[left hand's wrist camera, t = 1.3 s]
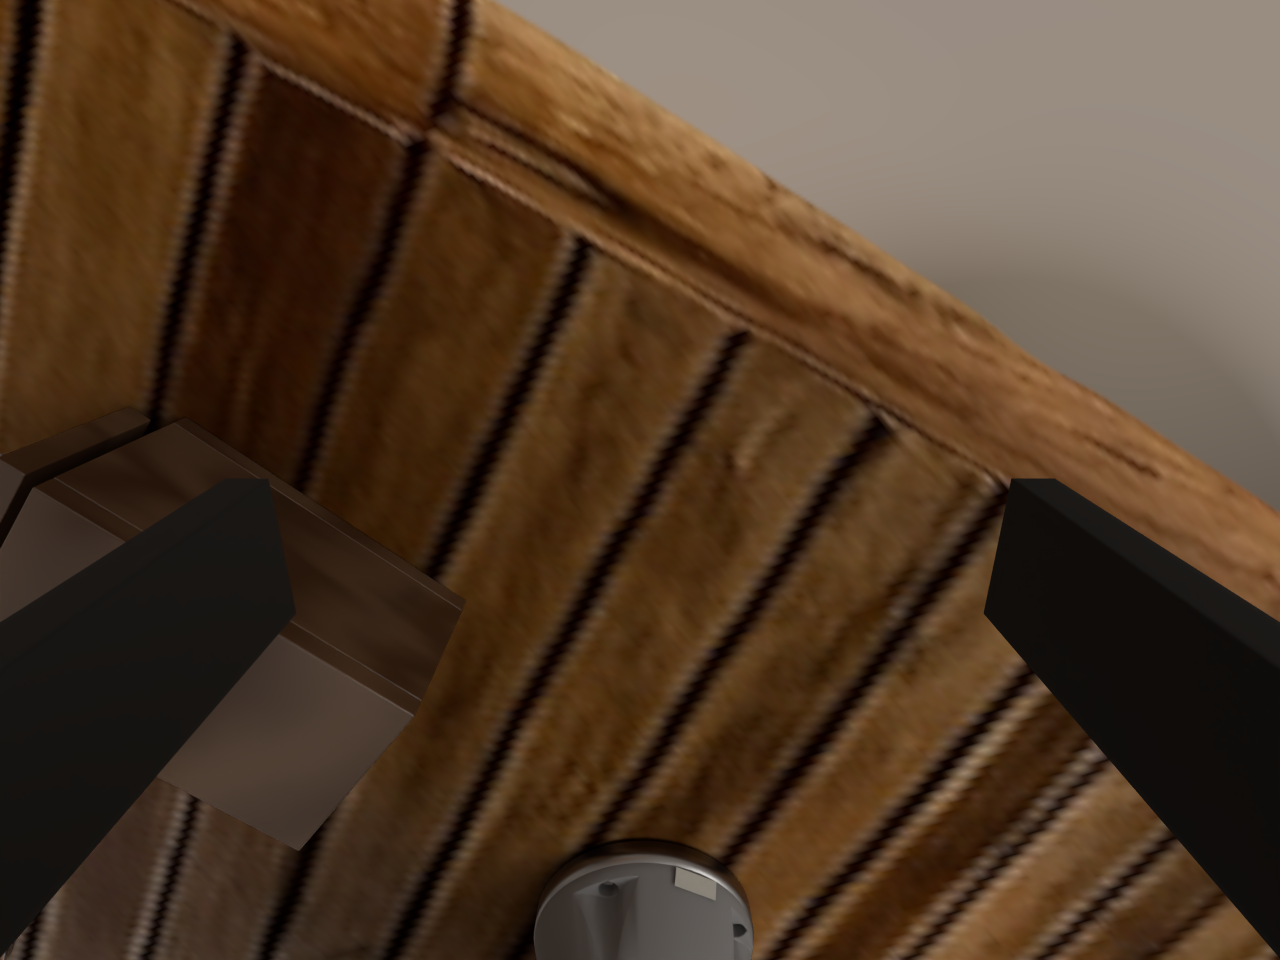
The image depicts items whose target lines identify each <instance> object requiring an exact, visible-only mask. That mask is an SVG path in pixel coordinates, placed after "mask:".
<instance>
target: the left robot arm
mask: <svg viewBox="0 0 1280 960" xmlns="http://www.w3.org/2000/svg"><path fill="white" fill-rule="evenodd" d="M295 614H296V610H295V605H294V600H293V595H292V590H291V585H290V580H289V576H288V571H287V566H286V561H285V556H284V551H283V546H282V542H281V537H280V532H279V527H278V522H277V517H276V512H275V508H274V503H273V498H272V493H271V488H270V483H269V479H224V480H222V481H221V482H219V483H218V484H216V485H214V486H213V487H211V488H210V489H208V490H207V491H205V492H203V493H202V494H200V495H199V496H197V497H196V498H194V499H192V500H191V501H189V502H188V503H186V504H185V505H183V506H182V507H180V508H178V509H177V510H175V511H174V512H172V513H171V514H169V515H167V516H166V517H164V518H163V519H161V520H160V521H158V522H156V523H155V524H153V525H152V526H150V527H149V528H147V529H146V530H144V531H142V532H141V533H139V534H138V535H136V536H135V537H133V538H131V539H130V540H128V541H127V542H125V543H124V544H122V545H120V546H119V547H117V548H116V549H114V550H113V551H111V552H110V553H108V554H106V555H105V556H103V557H102V558H100V559H99V560H97V561H95V562H94V563H92V564H91V565H89V566H88V567H86V568H85V569H83V570H81V571H80V572H78V573H77V574H75V575H74V576H72V577H70V578H69V579H67V580H66V581H64V582H63V583H61V584H59V585H58V586H56V587H55V588H53V589H52V590H50V591H49V592H47V593H45V594H44V595H42V596H41V597H39V598H38V599H36V600H34V601H33V602H31V603H30V604H28V605H27V606H25V607H23V608H22V609H20V610H19V611H17V612H16V613H14V614H13V615H11V616H9V617H8V618H6V619H5V620H3V621H2V622H0V958H1V957H2V955H3V954H4V953H5V952H6V951H7V950H8V948H9V947H10V946H11V945H12V944H13V943H14V941H15V940H16V939H17V938H18V937H19V936H20V934H21V933H22V932H23V931H24V930H25V929H26V927H27V926H28V925H29V924H30V923H31V922H32V920H33V919H34V918H35V917H36V916H37V915H38V913H39V912H40V911H41V910H42V909H43V908H44V907H45V905H46V904H47V903H48V902H49V901H50V900H51V898H52V897H53V896H54V895H55V894H56V893H57V891H58V890H59V889H60V888H61V887H62V886H63V884H64V883H65V882H66V881H67V880H68V879H69V877H70V876H71V875H72V874H73V873H74V872H75V870H76V869H77V868H78V867H79V866H80V865H81V863H82V862H83V861H84V860H85V859H86V858H87V856H88V855H89V854H90V853H91V852H92V851H93V849H94V848H95V847H96V846H97V845H98V844H99V843H100V841H101V840H102V839H103V838H104V837H105V836H106V834H107V833H108V832H109V831H110V830H111V829H112V827H113V826H114V825H115V824H116V823H117V822H118V820H119V819H120V818H121V817H122V816H123V815H124V813H125V812H126V811H127V810H128V809H129V808H130V806H131V805H132V804H133V803H134V802H135V801H136V799H137V798H138V797H139V796H140V795H141V794H142V792H143V791H144V790H145V789H146V788H147V787H148V785H149V784H150V783H151V782H152V781H153V780H154V779H155V777H156V776H157V775H158V774H159V773H160V772H161V770H162V769H163V768H164V767H165V766H166V765H167V763H168V762H169V761H170V760H171V759H172V758H173V756H174V755H175V754H176V753H177V752H178V751H179V749H180V748H181V747H182V746H183V745H184V744H185V742H186V741H187V740H188V739H189V738H190V737H191V735H192V734H193V733H194V732H195V731H196V730H197V728H198V727H199V726H200V725H201V724H202V723H203V721H204V720H205V719H206V718H207V717H208V716H209V715H210V713H211V712H212V711H213V710H214V709H215V708H216V706H217V705H218V704H219V703H220V702H221V701H222V699H223V698H224V697H225V696H226V695H227V694H228V692H229V691H230V690H231V689H232V688H233V687H234V685H235V684H236V683H237V682H238V681H239V680H240V678H241V677H242V676H243V675H244V674H245V673H246V671H247V670H248V669H249V668H250V667H251V666H252V664H253V663H254V662H255V661H256V660H257V659H258V657H259V656H260V655H261V654H262V653H263V652H264V651H265V649H266V648H267V647H268V646H269V645H270V644H271V642H272V641H273V640H274V639H275V638H276V637H277V635H278V634H279V633H280V632H281V631H282V630H283V628H284V627H285V626H286V625H287V624H288V623H289V621H290V620H291V619H292V618H293V617H294V616H295ZM984 614H985V616H986V617H987V618H988V619H989V620H990V621H991V623H992V624H993V625H994V626H995V627H996V628H997V630H998V631H999V632H1000V633H1001V634H1002V635H1003V637H1004V638H1005V639H1006V640H1007V641H1008V642H1009V644H1010V645H1011V646H1012V647H1013V648H1014V649H1015V651H1016V652H1017V653H1018V654H1019V655H1020V656H1021V657H1022V659H1023V660H1024V661H1025V662H1026V663H1027V664H1028V666H1029V667H1030V668H1031V669H1032V670H1033V671H1034V673H1035V674H1036V675H1037V676H1038V677H1039V678H1040V680H1041V681H1042V682H1043V683H1044V684H1045V685H1046V687H1047V688H1048V689H1049V690H1050V691H1051V692H1052V694H1053V695H1054V696H1055V697H1056V698H1057V699H1058V701H1059V702H1060V703H1061V704H1062V705H1063V706H1064V708H1065V709H1066V710H1067V711H1068V712H1069V713H1070V715H1071V716H1072V717H1073V718H1074V719H1075V720H1076V721H1077V723H1078V724H1079V725H1080V726H1081V727H1082V728H1083V730H1084V731H1085V732H1086V733H1087V734H1088V735H1089V737H1090V738H1091V739H1092V740H1093V741H1094V742H1095V744H1096V745H1097V746H1098V747H1099V748H1100V749H1101V751H1102V752H1103V753H1104V754H1105V755H1106V756H1107V758H1108V759H1109V760H1110V761H1111V762H1112V763H1113V765H1114V766H1115V767H1116V768H1117V769H1118V770H1119V772H1120V773H1121V774H1122V775H1123V776H1124V777H1125V779H1126V780H1127V781H1128V782H1129V783H1130V784H1131V785H1132V787H1133V788H1134V789H1135V790H1136V791H1137V792H1138V794H1139V795H1140V796H1141V797H1142V798H1143V799H1144V801H1145V802H1146V803H1147V804H1148V805H1149V806H1150V808H1151V809H1152V810H1153V811H1154V812H1155V813H1156V815H1157V816H1158V817H1159V818H1160V819H1161V820H1162V822H1163V823H1164V824H1165V825H1166V826H1167V827H1168V829H1169V830H1170V831H1171V832H1172V833H1173V834H1174V836H1175V837H1176V838H1177V839H1178V840H1179V841H1180V843H1181V844H1182V845H1183V846H1184V847H1185V848H1186V849H1187V851H1188V852H1189V853H1190V854H1191V855H1192V856H1193V858H1194V859H1195V860H1196V861H1197V862H1198V863H1199V865H1200V866H1201V867H1202V868H1203V869H1204V870H1205V872H1206V873H1207V874H1208V875H1209V876H1210V877H1211V879H1212V880H1213V881H1214V882H1215V883H1216V884H1217V886H1218V887H1219V888H1220V889H1221V890H1222V891H1223V893H1224V894H1225V895H1226V896H1227V897H1228V898H1229V900H1230V901H1231V902H1232V903H1233V904H1234V905H1235V907H1236V908H1237V909H1238V910H1239V911H1240V912H1241V913H1242V915H1243V916H1244V917H1245V918H1246V919H1247V920H1248V922H1249V923H1250V924H1251V925H1252V926H1253V927H1254V929H1255V930H1256V931H1257V932H1258V933H1259V934H1260V936H1261V937H1262V938H1263V939H1264V940H1265V941H1266V943H1267V944H1268V945H1269V946H1270V947H1271V948H1272V950H1273V951H1274V952H1275V953H1276V954H1277V955H1278V957H1279V958H1280V622H1278V621H1277V620H1275V619H1274V618H1272V617H1271V616H1269V615H1267V614H1266V613H1264V612H1263V611H1261V610H1260V609H1258V608H1257V607H1255V606H1253V605H1252V604H1250V603H1249V602H1247V601H1246V600H1244V599H1242V598H1241V597H1239V596H1238V595H1236V594H1235V593H1233V592H1231V591H1230V590H1228V589H1227V588H1225V587H1224V586H1222V585H1221V584H1219V583H1217V582H1216V581H1214V580H1213V579H1211V578H1210V577H1208V576H1206V575H1205V574H1203V573H1202V572H1200V571H1199V570H1197V569H1195V568H1194V567H1192V566H1191V565H1189V564H1188V563H1186V562H1185V561H1183V560H1181V559H1180V558H1178V557H1177V556H1175V555H1174V554H1172V553H1170V552H1169V551H1167V550H1166V549H1164V548H1163V547H1161V546H1160V545H1158V544H1156V543H1155V542H1153V541H1152V540H1150V539H1149V538H1147V537H1145V536H1144V535H1142V534H1141V533H1139V532H1138V531H1136V530H1134V529H1133V528H1131V527H1130V526H1128V525H1127V524H1125V523H1124V522H1122V521H1120V520H1119V519H1117V518H1116V517H1114V516H1113V515H1111V514H1109V513H1108V512H1106V511H1105V510H1103V509H1102V508H1100V507H1098V506H1097V505H1095V504H1094V503H1092V502H1091V501H1089V500H1088V499H1086V498H1084V497H1083V496H1081V495H1080V494H1078V493H1077V492H1075V491H1073V490H1072V489H1070V488H1069V487H1067V486H1066V485H1064V484H1062V483H1061V482H1059V481H1058V480H1056V479H1011V483H1010V488H1009V493H1008V498H1007V503H1006V508H1005V512H1004V517H1003V522H1002V527H1001V532H1000V537H999V542H998V546H997V551H996V556H995V561H994V566H993V571H992V576H991V580H990V585H989V590H988V595H987V600H986V605H985V610H984ZM753 941H754V934H753V925H752V919H751V912H750V906H749V902H748V898H747V896H746V893H745V891H744V889H743V887H742V886H741V884H740V883H739V881H738V880H737V879H736V877H735V876H734V875H733V874H732V873H731V872H730V871H729V870H728V869H727V868H725V867H724V866H723V865H722V864H720V863H719V862H718V861H716V860H714V859H713V858H711V857H709V856H707V855H705V854H703V853H701V852H699V851H696V850H694V849H691V848H688V847H685V846H681V845H677V844H672V843H667V842H659V841H628V842H621V843H614V844H610V845H606V846H602V847H599V848H596V849H593V850H591V851H588V852H586V853H584V854H582V855H580V856H578V857H576V858H574V859H573V860H571V861H570V862H568V863H567V864H566V865H564V866H563V867H562V868H561V869H559V870H558V871H557V872H556V873H555V874H554V875H553V877H552V878H551V879H550V880H549V882H548V883H547V885H546V886H545V888H544V890H543V892H542V894H541V897H540V900H539V904H538V909H537V916H536V922H535V929H534V945H535V953H536V959H537V960H751V957H752V950H753Z"/></svg>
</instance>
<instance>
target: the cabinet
mask: <svg viewBox="0 0 1280 960" xmlns="http://www.w3.org/2000/svg"><path fill="white" fill-rule="evenodd" d="M224 479H269V483H270V488H271V493H272V498H273V503H274V508H275V512H276V517H277V522H278V527H279V532H280V537H281V542H282V546H283V551H284V556H285V561H286V566H287V571H288V576H289V580H290V585H291V590H292V595H293V600H294V605H295V610H296V614H295V616H294V617H293V618H292V619H291V620H290V621H289V623H288V624H287V625H286V626H285V627H284V628H283V630H282V631H281V632H280V633H279V634H278V635H277V637H276V638H275V639H274V640H273V641H272V642H271V644H270V645H269V646H268V647H267V648H266V649H265V651H264V652H263V653H262V654H261V655H260V656H259V657H258V659H257V660H256V661H255V662H254V663H253V664H252V666H251V667H250V668H249V669H248V670H247V671H246V673H245V674H244V675H243V676H242V677H241V678H240V680H239V681H238V682H237V683H236V684H235V685H234V687H233V688H232V689H231V690H230V691H229V692H228V694H227V695H226V696H225V697H224V698H223V699H222V701H221V702H220V703H219V704H218V705H217V706H216V708H215V709H214V710H213V711H212V712H211V713H210V715H209V716H208V717H207V718H206V719H205V720H204V721H203V723H202V724H201V725H200V726H199V727H198V728H197V730H196V731H195V732H194V733H193V734H192V735H191V737H190V738H189V739H188V740H187V741H186V742H185V744H184V745H183V746H182V747H181V748H180V749H179V751H178V752H177V753H176V754H175V755H174V756H173V758H172V759H171V760H170V761H169V762H168V763H167V765H166V766H165V767H164V768H163V769H162V770H161V772H160V773H159V774H158V775H157V776H156V777H158V778H160V779H162V780H164V781H166V782H168V783H170V784H171V785H173V786H175V787H177V788H179V789H181V790H183V791H185V792H187V793H189V794H191V795H192V796H194V797H196V798H198V799H200V800H202V801H204V802H206V803H208V804H210V805H212V806H214V807H215V808H217V809H219V810H221V811H223V812H225V813H227V814H229V815H231V816H233V817H235V818H236V819H238V820H240V821H242V822H244V823H246V824H248V825H250V826H252V827H254V828H256V829H257V830H259V831H261V832H263V833H265V834H267V835H269V836H271V837H273V838H275V839H277V840H278V841H280V842H282V843H284V844H286V845H288V846H290V847H292V848H294V849H296V850H298V851H299V850H300V849H301V848H302V847H303V846H304V844H305V843H306V842H307V841H308V840H309V839H310V837H311V836H312V835H313V834H314V833H315V832H316V830H317V829H318V828H319V827H320V826H321V825H322V823H323V822H324V821H325V820H326V819H327V818H328V816H329V815H330V814H331V813H332V812H333V811H334V809H335V808H336V807H337V806H338V805H339V804H340V803H341V801H342V800H343V799H344V798H345V797H346V796H347V794H348V793H349V792H350V791H351V790H352V789H353V787H354V786H355V785H356V784H357V783H358V782H359V780H360V779H361V778H362V777H363V776H364V775H365V773H366V772H367V771H368V770H369V769H370V768H371V766H372V765H373V764H374V763H375V762H376V761H377V759H378V758H379V757H380V756H381V755H382V754H383V752H384V751H385V750H386V749H387V748H388V747H389V745H390V744H391V743H392V742H393V741H394V740H395V739H396V737H397V736H398V735H399V734H400V733H401V732H402V730H403V729H404V728H405V727H406V726H407V725H408V723H409V722H410V721H411V720H412V719H413V718H414V716H415V714H416V712H417V710H418V708H419V705H420V703H421V701H422V699H423V697H424V694H425V692H426V690H427V688H428V685H429V683H430V681H431V679H432V677H433V674H434V672H435V670H436V668H437V665H438V663H439V661H440V659H441V657H442V654H443V652H444V650H445V648H446V645H447V643H448V641H449V639H450V636H451V634H452V632H453V630H454V628H455V625H456V623H457V621H458V619H459V616H460V614H461V612H462V610H463V607H464V605H465V603H466V601H465V600H464V599H462V598H461V597H459V596H458V595H456V594H455V593H453V592H452V591H450V590H449V589H447V588H446V587H444V586H442V585H441V584H439V583H438V582H436V581H435V580H433V579H432V578H430V577H429V576H427V575H426V574H424V573H423V572H421V571H420V570H418V569H417V568H415V567H414V566H412V565H410V564H409V563H407V562H406V561H404V560H403V559H401V558H400V557H398V556H397V555H395V554H394V553H392V552H391V551H389V550H388V549H386V548H385V547H383V546H382V545H380V544H378V543H377V542H375V541H374V540H372V539H371V538H369V537H368V536H366V535H365V534H363V533H362V532H360V531H359V530H357V529H356V528H354V527H353V526H351V525H350V524H348V523H346V522H345V521H343V520H342V519H340V518H339V517H337V516H336V515H334V514H333V513H331V512H330V511H328V510H327V509H325V508H324V507H322V506H321V505H319V504H317V503H316V502H314V501H313V500H311V499H310V498H308V497H307V496H305V495H304V494H302V493H301V492H299V491H298V490H296V489H295V488H293V487H292V486H290V485H289V484H287V483H285V482H284V481H282V480H281V479H279V478H278V477H276V476H275V475H273V474H272V473H270V472H269V471H267V470H266V469H264V468H263V467H261V466H260V465H258V464H257V463H255V462H253V461H252V460H250V459H249V458H247V457H246V456H244V455H243V454H241V453H240V452H238V451H237V450H235V449H234V448H232V447H231V446H229V445H228V444H226V443H225V442H223V441H221V440H220V439H218V438H217V437H215V436H214V435H212V434H211V433H209V432H208V431H206V430H205V429H203V428H202V427H200V426H199V425H197V424H196V423H194V422H193V421H191V420H189V419H188V418H186V417H185V418H183V419H181V420H178V421H176V422H174V423H172V424H170V425H167V426H165V427H163V428H161V429H159V430H157V431H154V432H152V433H150V434H148V435H146V436H143V437H141V438H139V439H137V440H135V441H133V442H130V443H128V444H126V445H124V446H122V447H120V448H117V449H115V450H113V451H111V452H109V453H106V454H104V455H102V456H100V457H98V458H96V459H93V460H91V461H89V462H87V463H85V464H82V465H80V466H78V467H76V468H74V469H72V470H69V471H67V472H65V473H63V474H61V475H59V476H56V477H54V478H53V479H50V480H48V481H46V482H44V483H41V484H39V485H37V486H35V487H33V488H32V490H31V492H30V494H29V495H28V497H27V499H26V501H25V503H24V505H23V507H22V509H21V511H20V513H19V514H18V516H17V518H16V520H15V522H14V524H13V526H12V528H11V530H10V532H9V533H8V535H7V537H6V539H5V541H4V543H3V545H2V547H1V549H0V622H2V621H3V620H5V619H6V618H8V617H9V616H11V615H13V614H14V613H16V612H17V611H19V610H20V609H22V608H23V607H25V606H27V605H28V604H30V603H31V602H33V601H34V600H36V599H38V598H39V597H41V596H42V595H44V594H45V593H47V592H49V591H50V590H52V589H53V588H55V587H56V586H58V585H59V584H61V583H63V582H64V581H66V580H67V579H69V578H70V577H72V576H74V575H75V574H77V573H78V572H80V571H81V570H83V569H85V568H86V567H88V566H89V565H91V564H92V563H94V562H95V561H97V560H99V559H100V558H102V557H103V556H105V555H106V554H108V553H110V552H111V551H113V550H114V549H116V548H117V547H119V546H120V545H122V544H124V543H125V542H127V541H128V540H130V539H131V538H133V537H135V536H136V535H138V534H139V533H141V532H142V531H144V530H146V529H147V528H149V527H150V526H152V525H153V524H155V523H156V522H158V521H160V520H161V519H163V518H164V517H166V516H167V515H169V514H171V513H172V512H174V511H175V510H177V509H178V508H180V507H182V506H183V505H185V504H186V503H188V502H189V501H191V500H192V499H194V498H196V497H197V496H199V495H200V494H202V493H203V492H205V491H207V490H208V489H210V488H211V487H213V486H214V485H216V484H218V483H219V482H221V481H222V480H224Z"/></svg>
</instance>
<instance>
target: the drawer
mask: <svg viewBox="0 0 1280 960" xmlns="http://www.w3.org/2000/svg"><path fill="white" fill-rule="evenodd" d="M150 421H151V420H150V419H148V418H147V417H145V416H144V415H142V414H141V413H139V412H137V411H136V410H134V409H133V408H131V407H126V408H124V409H121V410H119V411H116V412H114V413H111V414H108V415H106V416H103V417H101V418H98V419H96V420H93V421H90V422H88V423H85V424H83V425H80V426H77V427H75V428H72V429H70V430H67V431H65V432H62V433H59V434H57V435H54V436H52V437H49V438H46V439H44V440H41V441H39V442H36V443H34V444H31V445H28V446H26V447H23V448H21V449H18V450H16V451H13V452H10V453H8V454H5V455H2V454H0V549H1V547H2V545H3V543H4V541H5V539H6V537H7V535H8V533H9V532H10V530H11V528H12V526H13V524H14V522H15V520H16V518H17V516H18V514H19V513H20V511H21V509H22V507H23V505H24V503H25V501H26V499H27V497H28V495H29V494H30V492H31V490H32V488H33V487H35V486H37V485H39V484H41V483H44V482H46V481H48V480H50V479H53V478H54V477H56V476H59V475H61V474H63V473H65V472H67V471H69V470H72V469H74V468H76V467H78V466H80V465H82V464H85V463H87V462H89V461H91V460H93V459H96V458H98V457H100V456H102V455H104V454H106V453H109V452H111V451H113V450H115V449H117V448H120V447H122V446H124V445H126V444H128V443H130V442H133V441H135V440H137V439H139V438H141V437H142V435H143V434H144V432H145V430H146V428H147V427H148V425H149V423H150Z"/></svg>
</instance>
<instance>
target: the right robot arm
mask: <svg viewBox="0 0 1280 960" xmlns="http://www.w3.org/2000/svg"><path fill="white" fill-rule="evenodd" d="M12 948H13V944H12V945H11V946H10V947H9V948H8V950H7V951H6V952H5V953H4V954H3V955H2V957H1V958H0V960H6V959H7V958H8V957H9V955H10V954H11V951H12Z"/></svg>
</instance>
